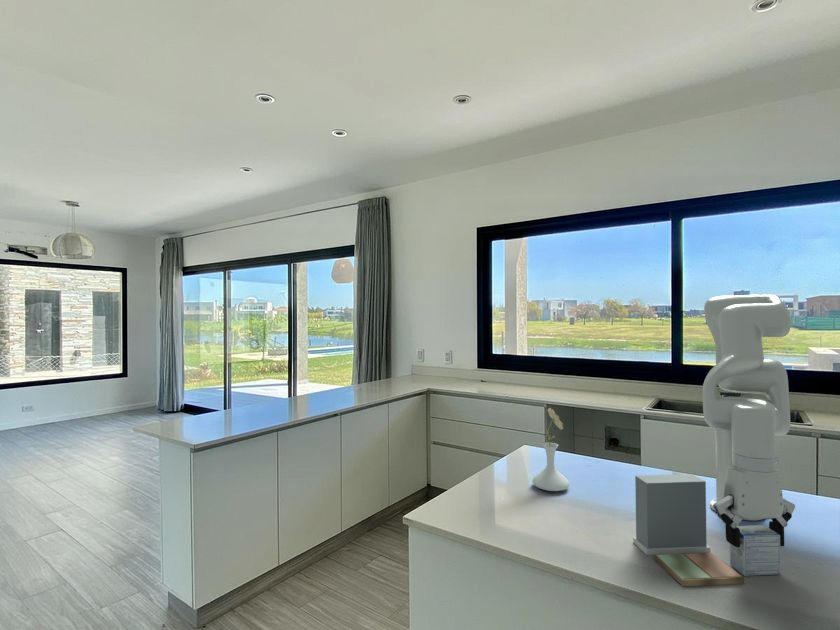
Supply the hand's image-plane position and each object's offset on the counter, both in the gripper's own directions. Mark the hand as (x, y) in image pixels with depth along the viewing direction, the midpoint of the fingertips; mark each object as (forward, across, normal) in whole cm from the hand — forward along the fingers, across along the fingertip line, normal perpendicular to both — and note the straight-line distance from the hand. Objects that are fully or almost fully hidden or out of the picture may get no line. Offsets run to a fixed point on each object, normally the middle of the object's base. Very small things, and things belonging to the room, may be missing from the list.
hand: (754, 543), depth 96 cm
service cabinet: (+6, +12, -11) cm, 17 cm away
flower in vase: (+5, +26, -51) cm, 57 cm away
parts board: (+6, +12, -1) cm, 13 cm away
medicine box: (+6, 0, -1) cm, 6 cm away
